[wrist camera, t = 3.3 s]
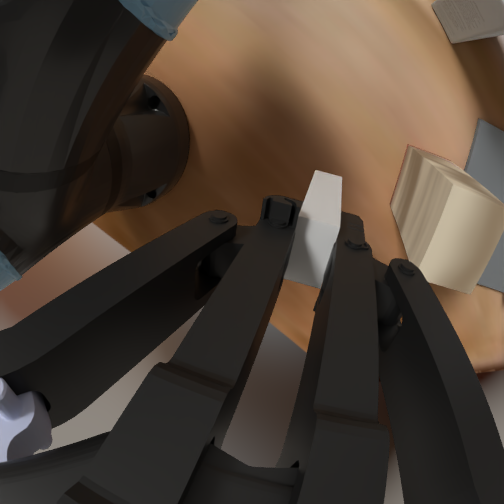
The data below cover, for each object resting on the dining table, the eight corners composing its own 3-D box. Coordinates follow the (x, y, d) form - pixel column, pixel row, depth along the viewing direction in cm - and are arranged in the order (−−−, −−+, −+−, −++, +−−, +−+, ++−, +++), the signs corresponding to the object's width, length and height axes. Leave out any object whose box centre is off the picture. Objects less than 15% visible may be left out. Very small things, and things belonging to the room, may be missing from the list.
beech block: (389, 203, 26) (413, 277, 16) (407, 144, 23) (453, 184, 13) (430, 217, 25) (470, 294, 15) (450, 160, 22) (511, 211, 12)
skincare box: (476, -3, 12) (539, -38, 2) (497, 39, 14) (572, 26, 4) (426, 4, 15) (476, -42, 5) (450, 48, 17) (517, 28, 7)
